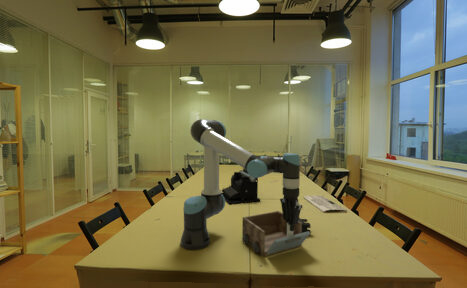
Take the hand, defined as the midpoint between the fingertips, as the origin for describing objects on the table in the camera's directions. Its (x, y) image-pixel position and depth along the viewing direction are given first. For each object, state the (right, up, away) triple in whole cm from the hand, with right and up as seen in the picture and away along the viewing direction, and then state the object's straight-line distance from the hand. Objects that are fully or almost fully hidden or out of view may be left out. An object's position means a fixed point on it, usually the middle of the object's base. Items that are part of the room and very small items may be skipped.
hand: (290, 236), depth 107 cm
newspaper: (+45, -6, +77) cm, 89 cm away
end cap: (+14, -8, +27) cm, 31 cm away
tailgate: (-2, -7, +4) cm, 9 cm away
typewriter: (-22, -5, +94) cm, 97 cm away
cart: (-7, -9, +14) cm, 17 cm away
